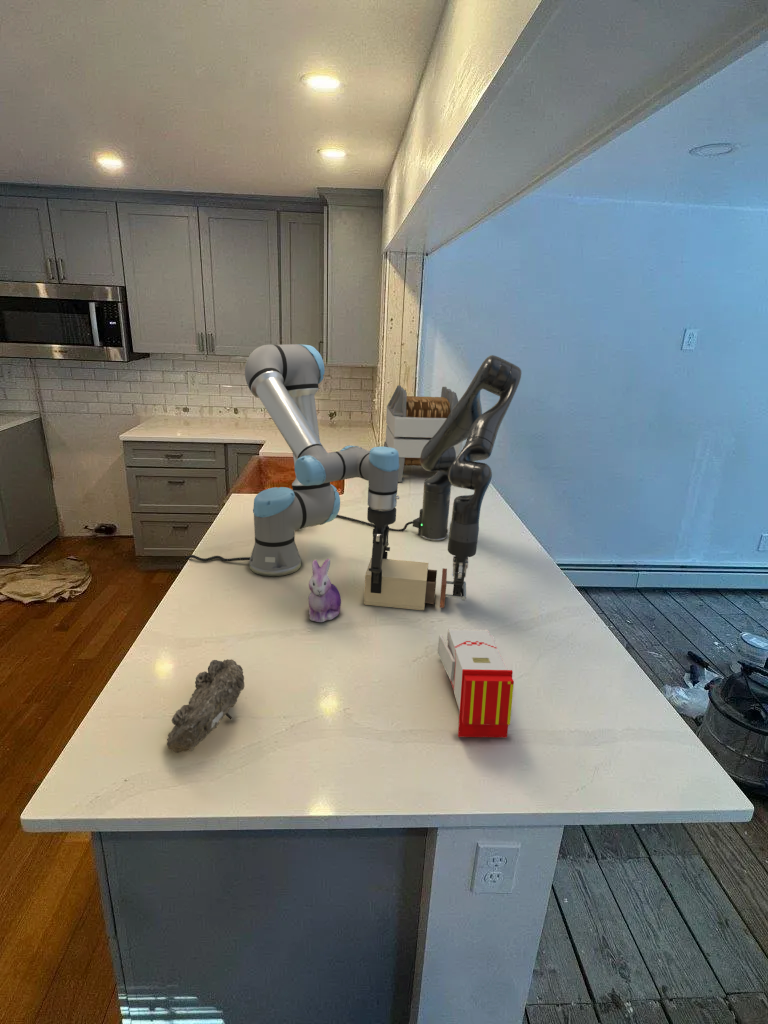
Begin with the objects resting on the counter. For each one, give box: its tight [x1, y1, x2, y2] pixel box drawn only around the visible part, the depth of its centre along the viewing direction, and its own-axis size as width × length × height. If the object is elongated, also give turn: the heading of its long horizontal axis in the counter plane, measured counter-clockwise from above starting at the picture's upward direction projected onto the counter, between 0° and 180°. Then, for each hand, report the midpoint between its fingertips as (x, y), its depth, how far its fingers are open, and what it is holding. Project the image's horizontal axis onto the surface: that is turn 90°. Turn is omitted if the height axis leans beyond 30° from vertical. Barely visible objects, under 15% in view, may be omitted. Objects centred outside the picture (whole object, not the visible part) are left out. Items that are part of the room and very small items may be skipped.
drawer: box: [425, 567, 468, 609], centre depth 153 cm, size 20×10×7 cm, turn 83°
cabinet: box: [363, 557, 429, 611], centre depth 154 cm, size 16×11×9 cm
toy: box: [437, 628, 515, 738], centre depth 117 cm, size 12×13×30 cm
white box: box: [383, 384, 464, 483], centre depth 268 cm, size 34×33×41 cm
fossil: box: [166, 658, 245, 754], centre depth 106 cm, size 22×10×15 cm
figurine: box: [308, 558, 342, 623], centre depth 143 cm, size 9×10×15 cm
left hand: (378, 582), depth 155 cm, fingers closed on cabinet, 11 cm apart
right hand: (456, 594), depth 153 cm, fingers closed
